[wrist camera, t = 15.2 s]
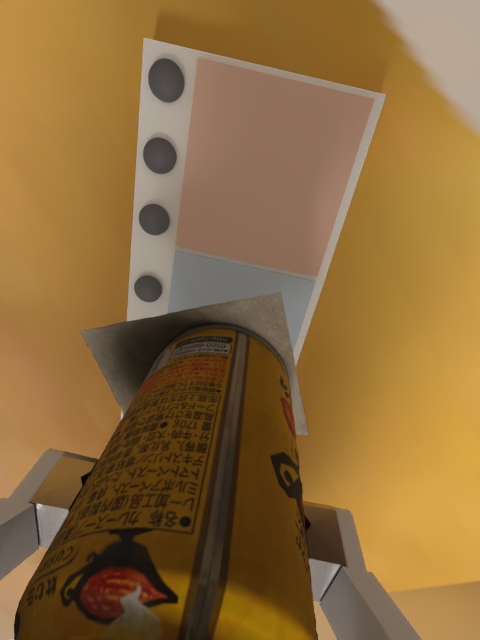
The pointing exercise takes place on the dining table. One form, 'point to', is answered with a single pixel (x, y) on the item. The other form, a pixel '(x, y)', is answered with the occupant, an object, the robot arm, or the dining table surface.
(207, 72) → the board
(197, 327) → the condiment
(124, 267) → the dining table surface
